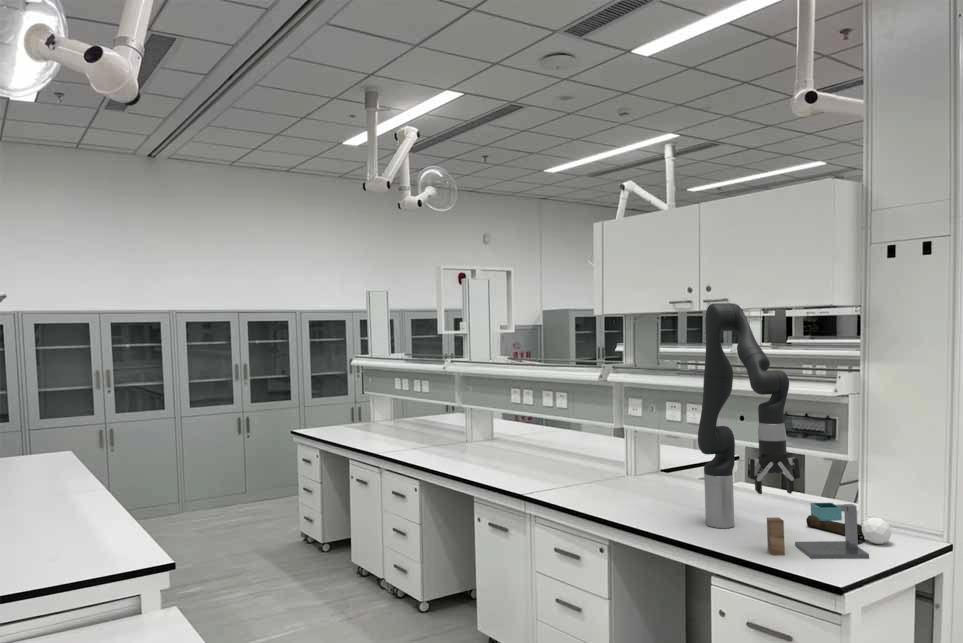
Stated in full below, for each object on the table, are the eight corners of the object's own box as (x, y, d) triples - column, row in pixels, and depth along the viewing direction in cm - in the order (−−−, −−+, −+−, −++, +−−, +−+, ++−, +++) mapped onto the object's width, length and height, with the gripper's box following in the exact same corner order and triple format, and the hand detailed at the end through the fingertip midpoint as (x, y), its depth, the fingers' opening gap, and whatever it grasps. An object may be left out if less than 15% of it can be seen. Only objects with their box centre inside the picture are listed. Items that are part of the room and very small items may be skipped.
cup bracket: (795, 545, 207) (793, 500, 208) (849, 545, 206) (847, 500, 206) (811, 558, 195) (809, 510, 196) (869, 558, 194) (867, 510, 194)
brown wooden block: (767, 551, 203) (766, 517, 203) (780, 551, 203) (779, 517, 203) (772, 555, 199) (770, 520, 199) (784, 555, 199) (783, 520, 199)
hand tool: (805, 527, 226) (804, 513, 226) (813, 525, 228) (813, 511, 228) (859, 542, 209) (859, 527, 209) (867, 540, 211) (867, 525, 211)
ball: (885, 553, 206) (899, 536, 202) (858, 543, 207) (871, 526, 203) (881, 534, 212) (894, 518, 208) (855, 525, 214) (867, 508, 209)
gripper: (791, 435, 205) (794, 490, 204) (743, 436, 206) (745, 490, 205) (801, 439, 197) (804, 495, 197) (751, 440, 198) (753, 496, 198)
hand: (774, 493), depth 201 cm, fingers open, 8 cm apart
